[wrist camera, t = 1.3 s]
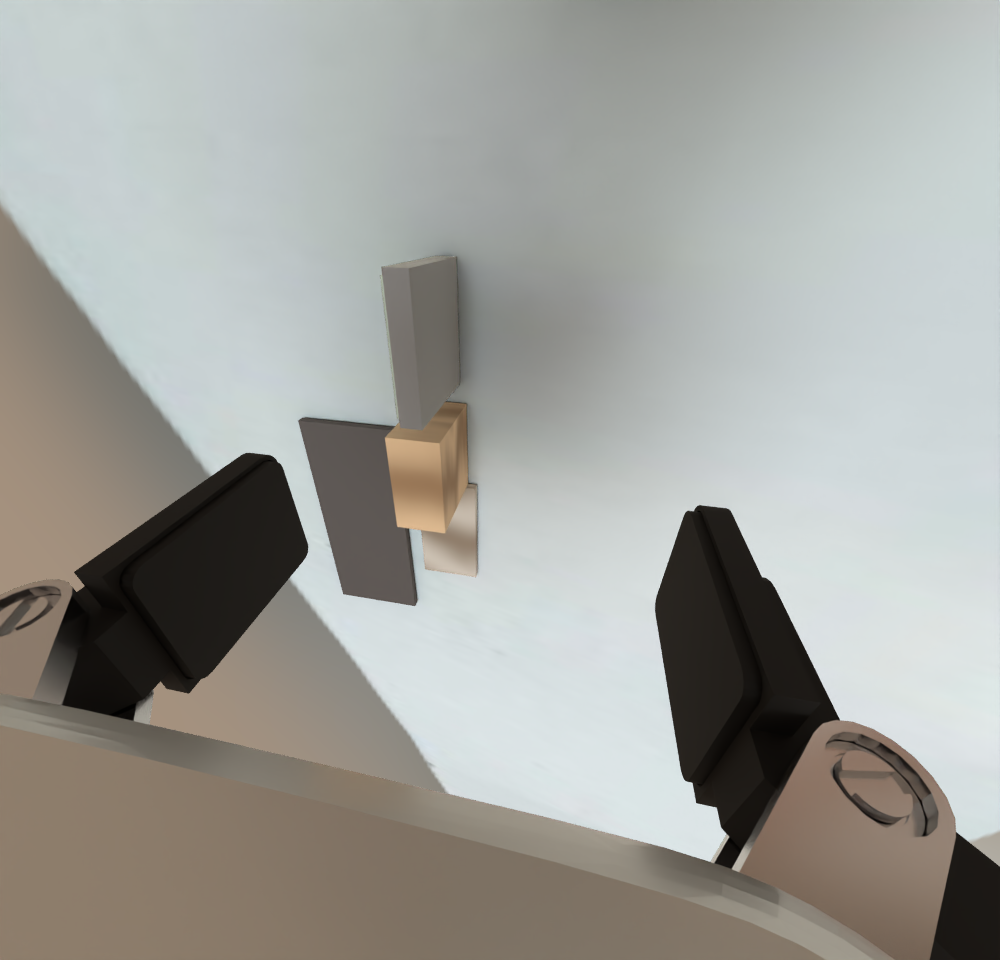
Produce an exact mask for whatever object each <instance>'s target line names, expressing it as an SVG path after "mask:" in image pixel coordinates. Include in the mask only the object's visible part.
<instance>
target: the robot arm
mask: <svg viewBox="0 0 1000 960" xmlns="http://www.w3.org/2000/svg"><path fill="white" fill-rule="evenodd" d="M307 553H308V543H307V540H306V537H305V534H304V531H303V528H302V525H301V522H300V519H299V516H298V513H297V510H296V507H295V504H294V501H293V498H292V494H291V491H290V488H289V485H288V482H287V479H286V476H285V473H284V470H283V467H282V465H281V464H280V463H278V462H277V460H276V459H275V458H274V457H273V456H270V455H263V454H255V453H245V454H243V455H241V456H240V457H238V458H237V459H235V460H234V461H232V462H231V463H230V464H228V465H227V466H225V467H224V468H222V469H221V470H220V471H218V472H217V473H215V474H214V475H212V476H211V477H210V478H208V479H207V480H205V481H204V482H202V483H201V484H200V485H198V486H197V487H195V488H194V489H192V490H191V491H190V492H188V493H187V494H186V495H184V496H182V497H181V498H180V499H178V500H177V501H175V502H174V503H172V504H171V505H169V506H168V507H167V508H165V509H164V510H162V511H161V512H159V513H158V514H157V515H155V516H154V517H152V518H151V519H149V520H148V521H147V522H145V523H144V524H143V525H141V526H140V527H138V528H137V529H135V530H134V531H132V532H131V533H129V534H128V535H126V536H125V537H124V538H122V539H121V540H119V541H118V542H116V543H115V544H114V545H112V546H111V547H109V548H108V549H106V550H105V551H104V552H102V553H101V554H99V555H98V556H96V557H95V558H94V559H92V560H91V561H89V562H88V563H86V564H85V565H83V566H82V567H81V568H79V569H78V570H76V571H75V572H74V573H75V574H76V575H77V577H78V578H79V579H80V580H81V581H82V583H83V584H84V585H85V587H83V588H82V589H81V590H79V591H78V592H76V591H75V590H74V589H73V587H72V586H71V585H70V584H69V582H66V581H63V580H59V579H57V580H43V581H38V582H33V583H29V584H26V585H23V586H20V587H17V588H14V589H12V590H10V591H8V592H5V593H3V594H1V595H0V960H1000V867H999V866H998V865H997V864H996V863H994V862H993V861H992V860H991V859H989V858H988V857H987V856H986V855H984V854H983V853H982V852H981V851H979V850H978V849H977V848H976V847H974V846H973V845H972V844H970V843H969V842H968V841H967V840H965V839H964V838H963V837H962V836H960V835H959V834H958V833H957V832H956V826H955V817H954V814H953V812H952V809H951V807H950V804H949V802H948V799H947V797H946V796H945V794H944V793H943V791H942V790H941V788H940V787H939V785H938V784H937V783H936V781H935V780H934V778H933V777H932V775H931V774H930V773H929V772H928V771H927V770H926V769H925V768H924V767H923V766H922V765H921V764H920V763H919V762H918V761H917V760H916V759H915V758H914V757H913V756H912V755H911V754H910V753H908V752H907V751H906V750H904V749H903V748H902V747H901V746H899V745H898V744H897V743H896V742H894V741H893V740H891V739H889V738H888V737H886V736H884V735H882V734H881V733H879V732H877V731H875V730H874V729H872V728H869V727H866V726H863V725H860V724H858V723H855V722H849V721H840V719H839V717H838V715H837V713H836V711H835V709H834V707H833V705H832V703H831V701H830V699H829V697H828V695H827V693H826V691H825V689H824V687H823V685H822V683H821V681H820V679H819V676H818V674H817V672H816V670H815V668H814V666H813V664H812V662H811V660H810V658H809V656H808V654H807V652H806V650H805V648H804V646H803V644H802V642H801V640H800V638H799V636H798V634H797V632H796V630H795V628H794V626H793V624H792V622H791V619H790V617H789V615H788V613H787V611H786V609H785V607H784V605H783V603H782V601H781V599H780V597H779V595H778V593H777V591H776V589H775V587H774V586H773V584H772V583H771V581H769V580H768V579H766V578H762V577H761V574H760V572H759V570H758V568H757V566H756V564H755V562H754V559H753V557H752V555H751V553H750V551H749V549H748V547H747V545H746V542H745V540H744V538H743V536H742V534H741V532H740V530H739V528H738V525H737V523H736V521H735V519H734V517H733V515H732V513H731V511H730V510H729V509H727V508H718V507H710V506H701V505H699V506H697V507H696V508H695V510H694V512H693V511H687V512H686V513H685V515H684V517H683V520H682V523H681V526H680V529H679V532H678V535H677V538H676V541H675V544H674V547H673V550H672V553H671V556H670V559H669V562H668V564H667V567H666V570H665V573H664V576H663V579H662V582H661V585H660V588H659V591H658V594H657V597H656V603H655V613H656V620H657V626H658V632H659V638H660V644H661V650H662V656H663V663H664V669H665V675H666V681H667V687H668V693H669V700H670V706H671V712H672V718H673V724H674V730H675V737H676V743H677V749H678V755H679V761H680V767H681V772H682V775H683V778H684V780H685V781H687V782H692V783H693V787H694V793H695V798H696V803H698V804H703V805H707V806H712V807H717V810H718V815H719V820H720V824H721V828H722V829H723V830H724V831H725V832H726V836H725V838H724V839H723V841H722V843H721V844H720V846H719V848H718V850H717V851H716V853H715V855H714V856H713V858H712V860H711V861H710V862H708V861H705V860H702V859H699V858H696V857H692V856H689V855H686V854H683V853H680V852H676V851H673V850H670V849H667V848H664V847H660V846H656V845H652V844H648V843H644V842H640V841H637V840H633V839H629V838H625V837H621V836H617V835H613V834H609V833H605V832H602V831H598V830H594V829H590V828H586V827H582V826H578V825H574V824H571V823H567V822H563V821H559V820H555V819H551V818H547V817H543V816H539V815H535V814H530V813H526V812H522V811H518V810H513V809H509V808H505V807H501V806H497V805H492V804H488V803H484V802H480V801H476V800H471V799H467V798H463V797H459V796H455V795H450V794H446V793H442V792H437V791H433V790H429V789H425V788H420V787H416V786H412V785H408V784H404V783H400V782H395V781H391V780H387V779H383V778H379V777H374V776H370V775H366V774H361V773H357V772H353V771H349V770H344V769H340V768H336V767H331V766H327V765H323V764H318V763H314V762H310V761H306V760H301V759H297V758H293V757H288V756H284V755H280V754H275V753H271V752H266V751H262V750H258V749H253V748H249V747H245V746H241V745H236V744H232V743H228V742H223V741H219V740H215V739H210V738H205V737H201V736H197V735H193V734H188V733H184V732H179V731H175V730H170V729H166V728H162V727H157V726H153V725H149V723H150V715H151V708H152V701H153V694H154V692H153V689H154V688H155V687H156V686H157V684H158V683H159V682H160V681H161V682H162V683H163V685H164V686H165V687H166V688H167V689H171V690H175V691H180V692H184V693H190V692H191V691H192V689H193V688H194V687H195V686H196V685H197V683H198V682H199V681H200V680H201V679H202V678H205V677H207V676H208V675H209V674H210V673H211V672H212V671H213V670H214V669H215V668H216V666H217V665H218V664H219V663H220V661H221V660H222V659H223V658H224V657H225V655H226V654H227V653H228V652H229V650H230V649H231V648H232V647H233V646H234V645H235V643H236V642H237V641H238V640H239V638H240V637H241V636H242V635H243V634H244V632H245V631H246V630H247V629H248V627H249V626H250V625H251V624H252V622H253V621H254V620H255V619H256V618H257V617H258V615H259V614H260V613H261V612H262V610H263V609H264V608H265V607H266V606H267V604H268V603H269V602H270V601H271V599H272V598H273V597H274V596H275V595H276V593H277V592H278V591H279V590H280V589H281V587H282V586H283V585H284V584H285V582H286V581H287V580H288V579H289V578H290V576H291V575H292V574H293V573H294V572H295V570H296V569H297V568H298V567H299V565H300V564H301V563H302V562H303V561H304V559H305V558H306V556H307Z"/></svg>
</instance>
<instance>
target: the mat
mask: <svg viewBox="0 0 1000 960" xmlns="http://www.w3.org/2000/svg"><path fill="white" fill-rule="evenodd" d="M299 425H300V429H301V433H302V437H303V441H304V445H305V448H306V452H307V456H308V460H309V464H310V468H311V471H312V475H313V479H314V483H315V487H316V491H317V495H318V498H319V502H320V506H321V510H322V514H323V518H324V522H325V525H326V529H327V533H328V537H329V541H330V545H331V548H332V552H333V556H334V560H335V564H336V568H337V572H338V575H339V579H340V583H341V587H342V591H343V594H346V595H352V596H358V597H364V598H370V599H376V600H382V601H388V602H394V603H400V604H406V605H412V606H415V605H416V603H417V597H416V588H415V580H414V572H413V564H412V556H411V547H410V539H409V531H408V528H403V527H397V521H396V514H395V507H394V499H393V492H392V485H391V478H390V471H389V464H388V457H387V449H386V442H385V437H386V436H387V435H388V434H389V433H390V432H391V431H392V429H393V428H394V427H386V426H377V425H367V424H358V423H348V422H339V421H329V420H319V419H310V418H302V419H300V420H299Z"/></svg>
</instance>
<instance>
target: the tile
mask: <svg viewBox="0 0 1000 960" xmlns="http://www.w3.org/2000/svg"><path fill="white" fill-rule="evenodd" d="M380 279H381V287H382V296H383V304H384V313H385V321H386V329H387V338H388V346H389V355H390V363H391V372H392V380H393V388H394V397H395V405H396V414H397V418H399V423H400V428H405V429H414V430H423V429H424V428H425V427H426V425H427V424H428V423H429V422H430V420H431V419H432V418H433V417H434V415H435V414H436V413H437V412H438V410H439V409H440V408H441V407H442V405H443V404H444V403H445V402H446V400H447V399H448V398H449V397H450V395H451V394H452V393H453V392H454V390H455V389H456V388H457V387H458V385H459V384H460V364H459V328H458V292H457V257H453V256H433V257H428V258H423V259H418V260H413V261H408V262H403V263H398V264H393V265H389V266H384V267H382V275H380Z"/></svg>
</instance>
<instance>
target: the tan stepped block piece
mask: <svg viewBox="0 0 1000 960" xmlns="http://www.w3.org/2000/svg"><path fill="white" fill-rule="evenodd" d="M385 442H386V449H387V457H388V464H389V471H390V478H391V485H392V492H393V499H394V507H395V514H396V521H397V527H403V528H410V529H417V530H421V532H422V542H423V552H424V562H425V569H427V570H433V571H440V572H446V573H453V574H459V575H466V576H472V577H476V575H477V485H474V484H468V457H467V406H466V404H462V403H451V402H445V403H444V404H443V405H442V407H441V408H440V409H439V410H438V412H437V413H436V414H435V415H434V417H433V418H432V419H431V420H430V422H429V423H428V424H427V425H426V427H425V428H424V429H423V430H414V429H405V428H400V423H398V424H397V425H396V426H395V427H394V428H393V429H392V431H391V432H390V433H389V434H388V435H387V436H386V437H385Z"/></svg>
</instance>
